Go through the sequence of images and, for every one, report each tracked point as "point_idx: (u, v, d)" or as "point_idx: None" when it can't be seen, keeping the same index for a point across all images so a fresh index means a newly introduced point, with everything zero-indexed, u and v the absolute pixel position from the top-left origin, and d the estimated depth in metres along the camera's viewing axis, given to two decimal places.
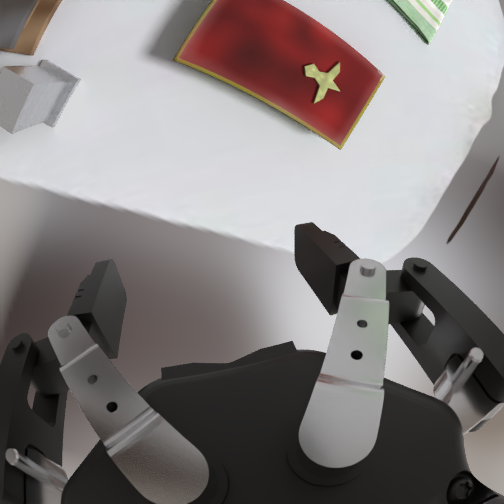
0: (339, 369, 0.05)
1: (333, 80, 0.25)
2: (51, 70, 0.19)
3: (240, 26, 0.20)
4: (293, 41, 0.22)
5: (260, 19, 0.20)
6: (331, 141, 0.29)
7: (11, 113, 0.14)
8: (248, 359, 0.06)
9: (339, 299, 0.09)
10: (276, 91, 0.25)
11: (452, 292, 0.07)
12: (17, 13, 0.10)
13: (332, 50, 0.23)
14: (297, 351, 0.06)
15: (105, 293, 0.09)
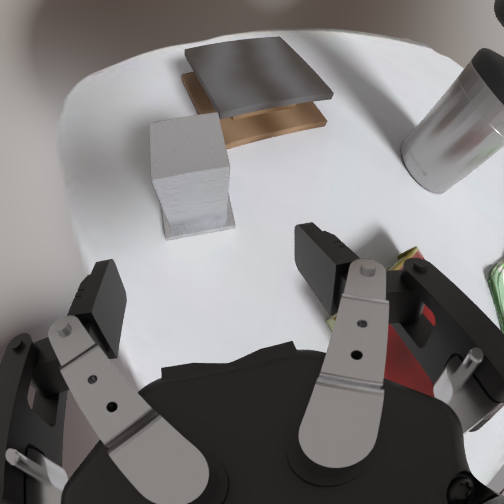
0: (339, 369, 0.05)
1: None
2: None
3: None
4: None
5: (423, 311, 0.22)
6: None
7: (175, 161, 0.16)
8: (248, 359, 0.06)
9: (339, 299, 0.09)
10: None
11: (452, 292, 0.07)
12: (255, 94, 0.24)
13: None
14: (297, 351, 0.06)
15: (105, 293, 0.09)
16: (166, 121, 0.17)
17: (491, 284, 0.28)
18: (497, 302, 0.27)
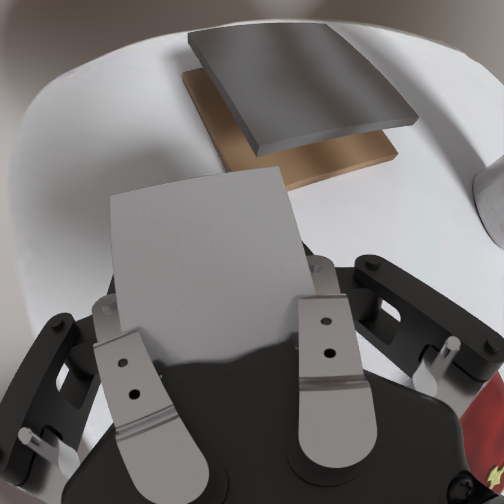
0: (339, 369, 0.05)
1: (499, 475, 0.10)
2: None
3: (471, 437, 0.11)
4: (495, 445, 0.11)
5: (487, 424, 0.11)
6: None
7: (185, 327, 0.06)
8: (248, 359, 0.06)
9: None
10: None
11: (412, 284, 0.07)
12: (315, 111, 0.14)
13: None
14: (297, 351, 0.06)
15: None
16: (150, 190, 0.07)
17: None
18: None
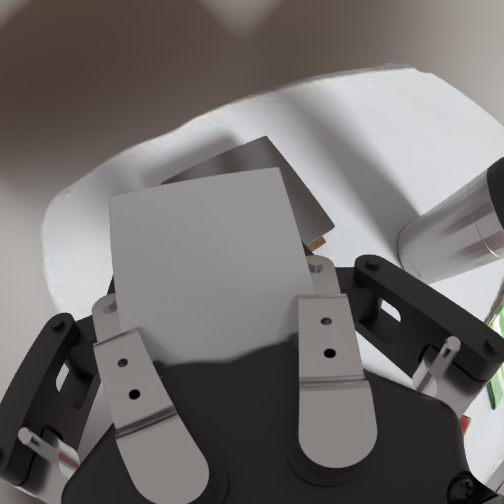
0: (339, 369, 0.05)
1: None
2: None
3: None
4: None
5: None
6: None
7: (184, 329, 0.06)
8: (248, 359, 0.06)
9: None
10: None
11: (412, 284, 0.07)
12: None
13: None
14: (297, 351, 0.06)
15: None
16: (150, 191, 0.07)
17: None
18: None
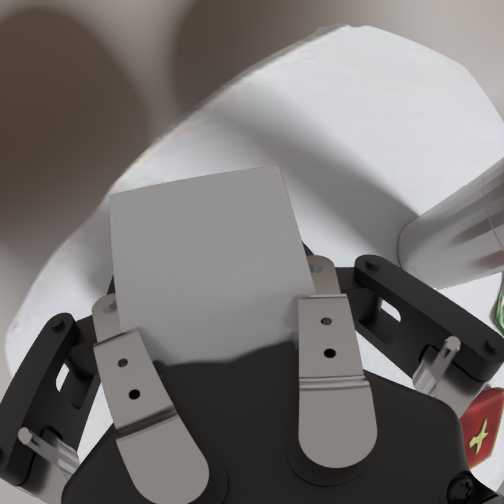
0: (339, 369, 0.05)
1: (483, 431, 0.20)
2: None
3: None
4: None
5: None
6: (485, 458, 0.19)
7: (184, 327, 0.06)
8: (248, 359, 0.06)
9: None
10: None
11: (413, 284, 0.07)
12: None
13: (480, 415, 0.21)
14: (297, 351, 0.06)
15: None
16: (150, 189, 0.07)
17: (497, 322, 0.28)
18: None
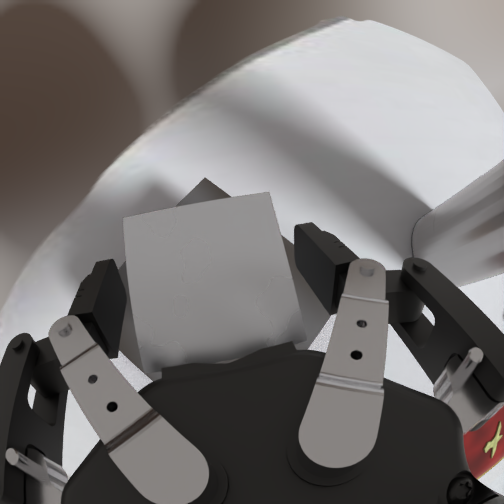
0: (339, 369, 0.05)
1: (498, 434, 0.17)
2: None
3: None
4: (475, 444, 0.17)
5: None
6: (501, 459, 0.16)
7: (189, 331, 0.08)
8: (248, 359, 0.06)
9: (339, 299, 0.09)
10: None
11: (452, 292, 0.07)
12: None
13: (495, 419, 0.18)
14: (297, 351, 0.06)
15: (105, 293, 0.09)
16: (158, 214, 0.09)
17: None
18: None
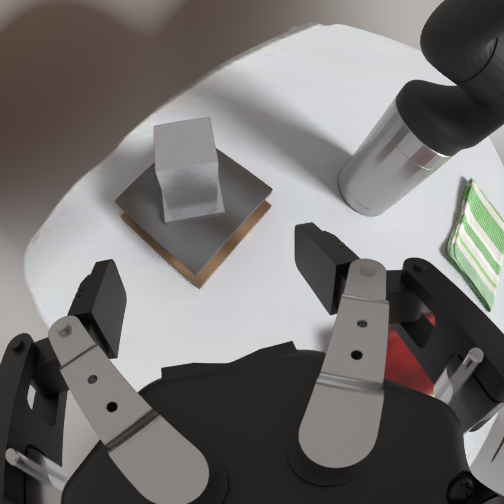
0: (339, 369, 0.05)
1: None
2: None
3: (384, 376, 0.29)
4: None
5: (391, 360, 0.29)
6: None
7: (174, 157, 0.20)
8: (248, 359, 0.06)
9: (339, 299, 0.09)
10: (424, 389, 0.29)
11: (453, 292, 0.07)
12: (211, 236, 0.29)
13: None
14: (297, 351, 0.06)
15: (105, 293, 0.09)
16: (167, 124, 0.21)
17: (449, 257, 0.39)
18: (459, 268, 0.38)
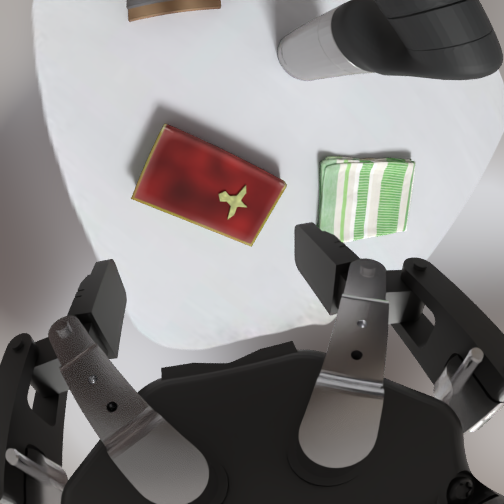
0: (339, 369, 0.05)
1: (241, 200, 0.42)
2: None
3: (171, 170, 0.37)
4: (209, 176, 0.39)
5: (184, 163, 0.37)
6: (243, 242, 0.46)
7: None
8: (248, 359, 0.06)
9: (339, 299, 0.09)
10: (200, 214, 0.42)
11: (452, 292, 0.07)
12: None
13: (240, 176, 0.40)
14: (297, 351, 0.06)
15: (105, 293, 0.09)
16: None
17: None
18: None
